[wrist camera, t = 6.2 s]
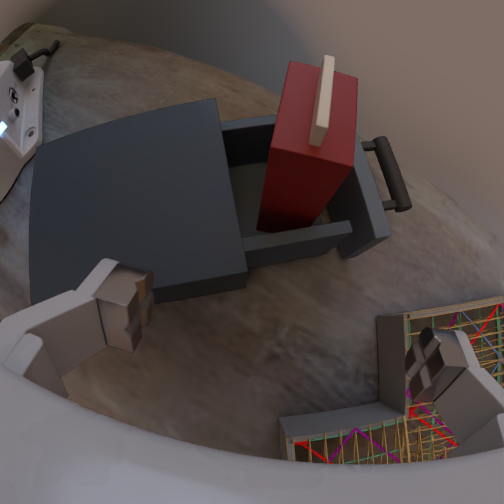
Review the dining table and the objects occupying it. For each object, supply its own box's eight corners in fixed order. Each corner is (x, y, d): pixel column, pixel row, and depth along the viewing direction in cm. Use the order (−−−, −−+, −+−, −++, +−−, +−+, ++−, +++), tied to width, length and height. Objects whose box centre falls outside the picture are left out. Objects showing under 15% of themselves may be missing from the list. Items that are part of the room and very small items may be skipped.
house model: (272, 325, 24) (287, 328, 16) (499, 294, 25) (551, 283, 18) (282, 545, 19) (293, 595, 12) (486, 478, 20) (526, 497, 13)
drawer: (360, 143, 27) (387, 100, 20) (394, 248, 25) (437, 226, 18) (184, 166, 26) (168, 121, 19) (201, 286, 24) (187, 274, 17)
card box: (255, 230, 24) (273, 127, 11) (269, 167, 25) (293, 40, 12) (301, 239, 24) (365, 150, 11) (311, 176, 25) (366, 59, 12)
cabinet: (221, 158, 27) (215, 97, 19) (245, 288, 25) (248, 271, 16) (82, 190, 26) (36, 146, 18) (89, 313, 24) (31, 308, 15)
